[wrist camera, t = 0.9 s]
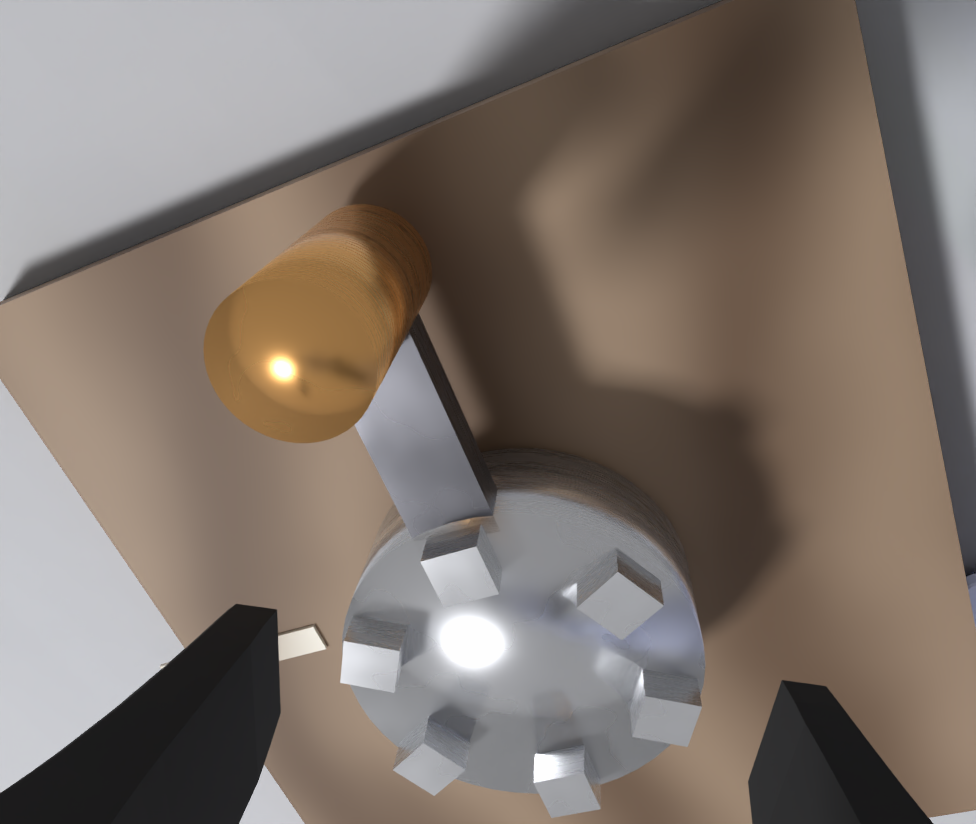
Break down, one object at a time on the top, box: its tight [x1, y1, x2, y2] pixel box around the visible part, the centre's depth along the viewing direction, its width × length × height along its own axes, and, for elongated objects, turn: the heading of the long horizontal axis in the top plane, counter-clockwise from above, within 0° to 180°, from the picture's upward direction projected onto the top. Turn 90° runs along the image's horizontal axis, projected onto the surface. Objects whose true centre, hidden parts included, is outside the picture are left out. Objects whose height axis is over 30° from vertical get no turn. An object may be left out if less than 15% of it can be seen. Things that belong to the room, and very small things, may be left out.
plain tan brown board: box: [0, 0, 976, 824], centre depth 22 cm, size 21×22×2 cm
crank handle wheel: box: [203, 204, 705, 818], centre depth 17 cm, size 14×8×6 cm, turn 22°
